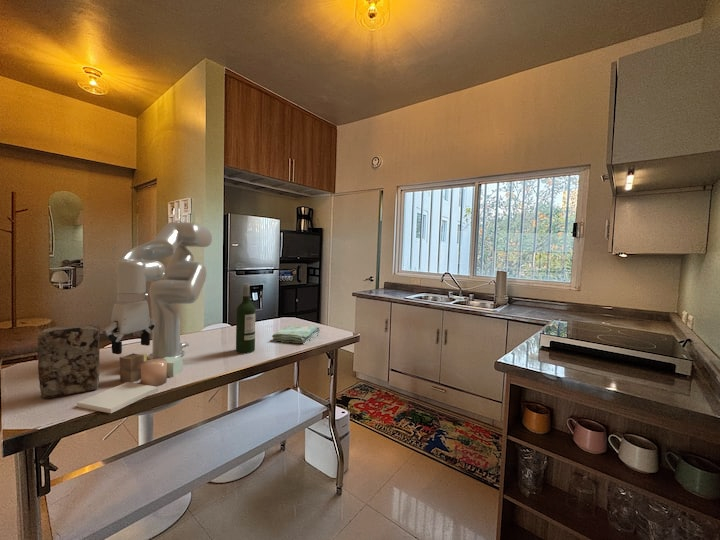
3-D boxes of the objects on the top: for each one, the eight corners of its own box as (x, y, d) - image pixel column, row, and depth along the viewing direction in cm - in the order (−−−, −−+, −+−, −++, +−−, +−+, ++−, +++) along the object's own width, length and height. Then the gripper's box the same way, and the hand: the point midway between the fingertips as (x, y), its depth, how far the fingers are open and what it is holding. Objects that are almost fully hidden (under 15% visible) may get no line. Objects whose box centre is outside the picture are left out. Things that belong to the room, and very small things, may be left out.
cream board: (127, 385, 96) (127, 381, 96) (157, 390, 93) (157, 386, 93) (77, 406, 82) (77, 402, 82) (111, 413, 79) (110, 408, 79)
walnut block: (133, 376, 103) (133, 353, 103) (143, 377, 102) (143, 354, 102) (120, 381, 99) (119, 357, 98) (130, 383, 98) (130, 359, 97)
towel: (270, 342, 149) (270, 332, 148) (289, 332, 169) (290, 323, 169) (304, 346, 144) (304, 335, 144) (320, 335, 165) (320, 325, 165)
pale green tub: (166, 370, 109) (166, 356, 109) (182, 370, 110) (183, 357, 109) (155, 376, 103) (155, 362, 103) (173, 377, 104) (173, 363, 103)
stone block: (100, 382, 97) (99, 321, 96) (100, 390, 92) (99, 326, 91) (40, 394, 88) (39, 327, 88) (37, 403, 83) (35, 332, 82)
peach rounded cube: (154, 377, 102) (154, 357, 102) (171, 380, 101) (171, 359, 101) (135, 386, 96) (135, 364, 95) (152, 389, 94) (152, 367, 94)
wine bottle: (250, 354, 129) (251, 285, 128) (232, 353, 130) (233, 284, 128) (257, 348, 137) (258, 283, 136) (240, 347, 137) (241, 282, 136)
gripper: (146, 294, 108) (146, 341, 109) (94, 300, 92) (94, 356, 92) (163, 295, 107) (163, 343, 107) (113, 302, 90) (113, 358, 90)
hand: (131, 349), depth 100 cm, fingers open, 9 cm apart
